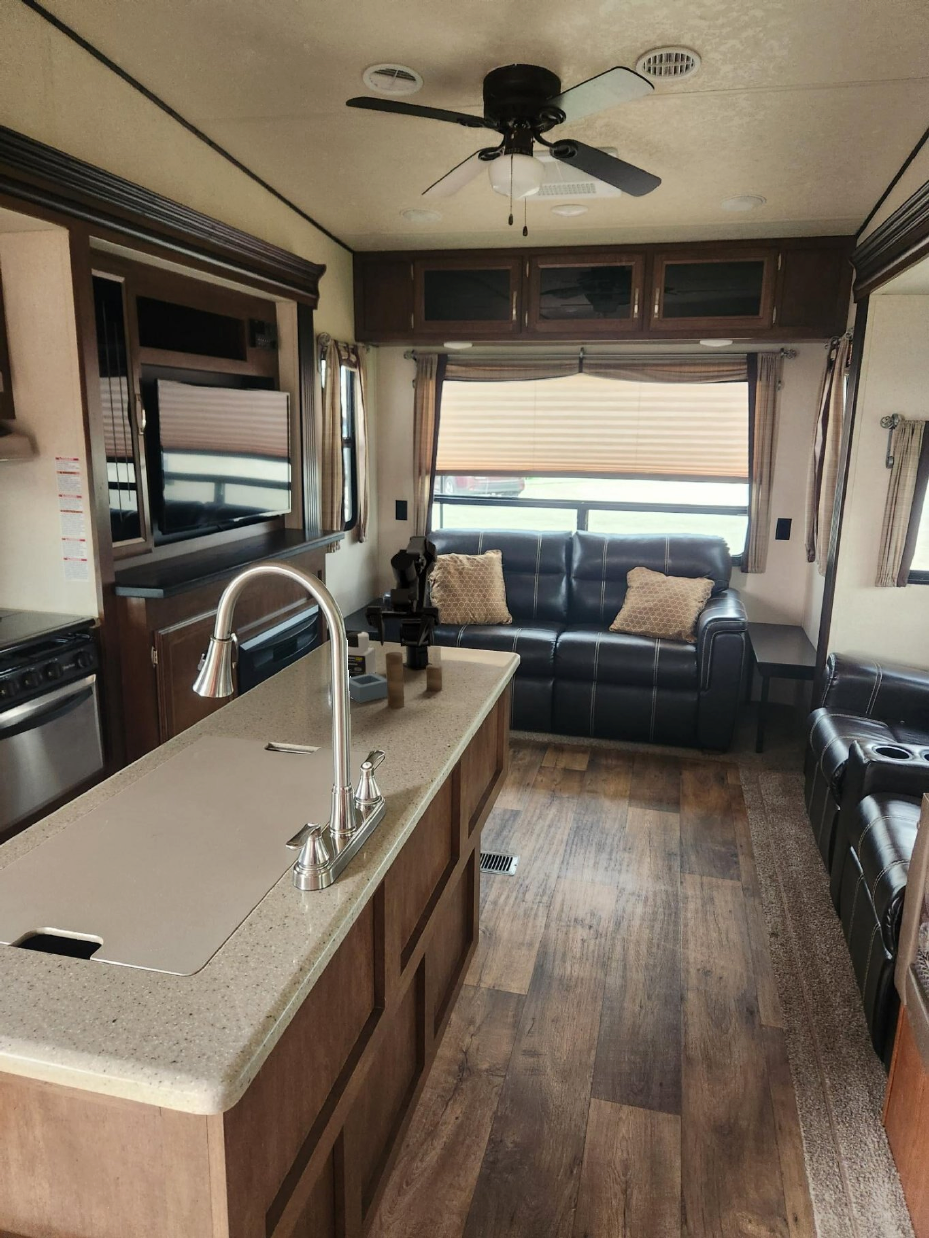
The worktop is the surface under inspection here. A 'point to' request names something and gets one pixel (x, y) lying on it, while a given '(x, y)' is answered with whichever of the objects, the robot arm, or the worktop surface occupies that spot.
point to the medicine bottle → (360, 654)
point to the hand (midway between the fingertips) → (399, 645)
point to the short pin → (434, 677)
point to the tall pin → (395, 679)
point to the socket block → (367, 687)
